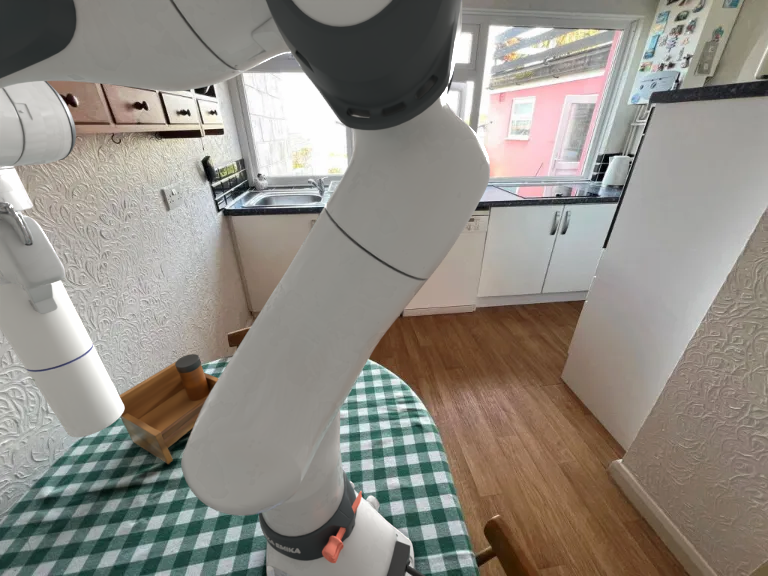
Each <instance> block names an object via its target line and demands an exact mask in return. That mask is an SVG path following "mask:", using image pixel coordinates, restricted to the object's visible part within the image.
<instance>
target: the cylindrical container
mask: <svg viewBox="0 0 768 576" xmlns="http://www.w3.org/2000/svg"><path fill="white" fill-rule="evenodd" d="M51 285H52V292H53V298H54V300H55V302H56V304H57V306H58V308H57V309H56V310H54V311H51V312H49V313H46V314H41V313H38V312H36V311H35V310H34V309H33V307H32V306H31V304H30V302H29V300H30V298H29V296H28V294H27V292H26V291H25V290H24V289H23V288H22V286H20V285H17V284H15V283H12V282H9V281H7V280H4V279H1V278H0V331H1V333H2V334H3V336H4V337H5V339H6V340H7V342H8V344H9V345H10V347H11V348H12V350H13V351H14V353H15V355H16V357H18V359H19V360H20V362H21V364H22V366H23V367H24V368H25V370H26V372H27V373H28V375H29V376H30V378H31V379H32V380H33V382H34V384H35V386H36V387H37V389H38V390H39V392H40V393H41V395H42V396H43V399H45V401H46V402H47V404H48V406H49V407H50V409H51V411H52V412H53V413H54V415H55V417H56V419H57V420H58V421H59V423H60V424H61V426H62V427H63V429H64V431H65V432H66V434H67V435H68V436H69V437H71V438H83V437H88V436H91V435H94V434H97V433H99V432H101V431H103V430H105V429H106V428H108V427H110V426H111V425H112V424H114V423H115V422H116V421H117V420H118V419H119V418H121V417H120V416H121V415H122V413H123V412H124V404H123V402H122V400H121V399H120V397H119V395H120V394H119V393H118V391H117V388H116V386H115V384H114V382H113V381H112V379H111V376H110V375H109V373H108V371H107V369H106V367H105V364H104V362H103V361H102V359H101V357H100V355H99V353H98V351H97V350H96V347H95V345H94V344H93V341H92V339H91V337H90V336H89V334H88V331H87V330H86V327H85V325H84V323H83V321H82V320H81V317H80V315H79V314H78V312H77V309H76V308H75V306H74V304H73V302H72V299H71V298H70V296H69V294H68V292H67V290H66V288H65V286H64V284H63V281H62V280H61V281H57V282H54V283H51Z"/></svg>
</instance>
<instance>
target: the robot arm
mask: <svg viewBox="0 0 768 576" xmlns="http://www.w3.org/2000/svg"><path fill="white" fill-rule="evenodd" d="M462 25H463V0H0V278H1V279H4V280H7V281H9V282H12V283H15V284H17V285H20V286H22V288H23V289H24V290H25V291H26V292H27V294H28V296H29V298H30V300H29V302H30V304H31V306H32V307H33V309H34V310H35V311H36V312H38V313H41V314H46V313H49V312H51V311H54V310H56V309H57V308H58V306H57V304H56V302H55V300H54V298H53V292H52V285H51V283H54V282H57V281H61V282H62V281H63V280H65V279H66V276H67V275H66V269H65V266H64V264H63V262H62V261H61V258H60V257H59V255H58V253H57V251H56V250H55V248H54V246H53V244H52V243H51V241H50V239H49V237H48V236H47V234H46V233H45V231H44V229H43V228H42V227H41V225H40V224H39V223H38V221H36V219H34V218H32V217H31V216H29V215H25V214H23V212H22V211H26V210H30V209H32V208H33V207H34V204H33V202H32V200H31V198H30V197H29V194H28V191H27V190H26V188H25V186H24V184H23V182H22V180H21V178H20V176H19V174H18V171H17V170H16V167H24V166H38V165H39V166H40V165H46V164H51V163H54V162H59V161H63V160H65V159H66V158H68V157H69V155H70V154H71V153H72V151H73V150H74V147H75V145H76V141H77V130H76V123H75V121H74V117H73V115H72V112H71V111H70V109H69V106H68V105H67V103H66V101H65V100H64V99H63V97H62V95H61V94H60V93H59V92H58V91H57V90H56V89H55V88H54V87H53V86H52V85H51V83H50V82H76V83H77V82H78V83H92V84H100V85H101V84H102V85H109V86H117V87H118V86H120V87H127V88H134V89H135V88H137V89H145V90H151V91H152V90H153V91H161V92H184V91H190V90H191V91H192V90H195V89H201V88H205V87H210V86H213V85H218V84H220V83H224V82H226V81H229V80H231V79H233V78H235V77H237V76H239V75H242V74H243V73H246V72H247V71H250V70H251V69H253V68H255V67H257V66H259V65H261V64H263V63H265V62H267V61H269V60H271V59H272V58H275V57H277V56H280V55H281V56H282V55H283V54H290V53H291V55H292V56H293V58H294V59H295V61H296V63H297V65H298V66H299V68H300V69H301V70H302V71H303V72H304V74H305V75H306V77H307V78H308V79H309V81H310V82H311V83H312V84H313V85H314V87H315V88H316V89H317V91H318V92H319V94H320V95H321V97H322V98H323V100H325V103H327V105H328V106H329V108H330V110H332V112H333V113H334V115H335V116H336V118H337V119H338V120H339V122H340V123H341V124H343V125H344V126H345V127H347V128H349V129H352V130H353V131H352V132H353V141H354V143H353V150H352V154H351V157H350V160H349V163H348V165H347V167H346V169H345V171H344V173H343V175H342V176H341V179H340V180H339V182H338V183H337V185H336V186H335V189H334V190H333V192H332V193H331V195H330V197H329V198H328V200H327V202H326V204H325V205H324V207H323V208H322V209H321V212H320V213H319V215H318V217H317V219H316V220H315V221H314V223H313V224H312V227H311V229H310V230H309V231H308V234H307V235H306V237H305V238H304V240H303V242H302V243H301V246H300V247H299V248H298V251H297V252H296V254H295V256H294V257H293V259H292V261H291V263H290V264H289V266H288V267H287V269H286V270H285V272H284V274H283V275H282V277H281V278H280V280H279V282H278V283H277V285H276V286H275V288H274V290H273V292H272V293H271V294H270V296H269V298H268V299H267V301H266V302H265V304H264V306H263V307H262V308H261V311H260V312H259V313H258V315H257V316H256V318H255V320H254V322H253V323H252V325H251V326H250V327H249V329H248V331H247V332H246V334H245V336H244V337H243V339H242V341H241V342H240V344H239V345H238V347H237V349H236V350H235V352H234V353H233V354H232V357H231V358H230V359H229V361H228V363H227V364H226V366H225V367H224V369H223V371H222V372H221V374H220V375H219V377H218V378H219V379H218V381H217V382H216V384H215V385H214V387H213V389H212V390H211V392H210V394H209V395H208V397H207V399H206V400H205V402H204V405H203V407H202V409H201V411H200V413H199V415H198V417H197V420H196V422H195V424H194V427H193V428H192V429H191V431H190V434H189V437H188V439H187V442H186V444H185V447H184V450H183V453H182V456H181V461H180V466H181V471H182V475H183V477H184V480H185V483H186V484H187V486H188V488H189V489H190V491H191V492H192V494H193V495H194V496H195V497H196V498H197V499H198V500H199V501H200V502H201V503H202V504H204V505H205V506H207V507H208V508H210V509H212V510H214V511H216V512H219V513H222V514H225V515H231V516H253V515H258V522H259V525H260V530H261V531H262V534H263V535H264V537H265V540H266V552H265V553H266V555H265V557H266V559H265V560H266V561H265V562H266V563H265V567H266V576H426V575H425V574H423V573H422V572H421V571H419V570H417V569H415V552H414V547H413V543H412V541H411V540H410V538H408V536H406V535H405V534H404V533H402V532H401V531H400V530H398V529H397V528H396V527H395V526H394V525H392V524H391V523H390V522H389V521H388V520H387V519H386V518H385V517H384V516H382V514H381V513H379V511H378V510H379V509H380V502H379V500H378V499H377V497H375V496H373V495H371V494H370V495H368V496H367V498H366V499H365V498H364V497H363V495H362V494H363V491H362V490H360V491H359V492H357V491H356V490H355V488H356V485H355V484H354V483H353V482H352V481H351V480H349V477H348V475H347V473H346V471H345V470H344V468H343V460H342V451H341V450H342V449H341V409H342V407H343V405H344V403H345V402H346V400H347V398H349V395H350V393H351V392H352V390H353V388H354V386H355V384H356V382H357V381H358V379H359V377H360V375H361V374H362V372H363V370H364V367H366V364H367V363H368V361H369V359H370V357H371V356H372V354H373V352H374V350H375V349H376V347H377V345H379V343H380V341H381V339H383V337H384V336H385V334H386V333H387V331H388V330H389V329H390V328H391V326H392V325H393V324H394V323H395V321H396V320H397V319H398V318H399V316H400V315H401V314H402V313H403V312H404V310H405V309H406V307H408V305H409V304H410V303H411V302H412V300H413V299H414V298H415V297H416V295H417V294H418V293H419V292H420V290H421V289H422V287H424V285H425V284H426V282H428V280H429V279H430V278H431V277H432V275H433V274H434V273H435V272H436V270H437V269H438V268H439V267H440V265H441V263H442V262H443V261H444V260H445V258H446V257H447V256H448V254H449V252H451V250H452V249H453V247H454V245H455V244H456V242H457V241H458V239H459V238H460V236H461V234H462V233H463V232H464V230H465V229H466V226H467V224H468V223H469V221H470V220H471V219H472V216H473V214H474V213H475V211H476V209H477V207H478V205H479V203H480V201H481V199H483V196H484V194H485V192H486V190H487V187H488V185H489V182H490V176H491V175H490V174H491V163H490V159H489V155H488V153H487V151H486V148H485V146H484V144H483V142H482V140H481V139H480V137H479V136H478V135H477V133H476V132H475V130H474V129H473V128H472V127H471V126H470V125H469V124H468V123H466V122H465V121H464V120H463V119H462V118H461V117H460V116H458V115H457V113H456V112H455V111H454V110H453V108H452V107H451V105H450V104H449V101H448V95H449V92H450V89H451V86H452V83H453V79H454V72H455V65H456V61H457V57H458V53H459V48H460V44H461V38H462V29H463V28H462V27H463V26H462Z"/></svg>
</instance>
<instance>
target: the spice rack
mask: <svg viewBox="0 0 768 576" xmlns="http://www.w3.org/2000/svg"><path fill="white" fill-rule="evenodd" d="M218 379H219V377H216V376H214V375H211V374H209V373H206V372H204V369H203V366H202V361H201V358H200V356H199V354H195V353H191V354H185V355H184V356H181V357H180V358H178V359H177V360H176V361H174V362H172V363H171V364H170V365H167V366H166V367H164V368H162V369H161V370H159V371H157V372H156V373H154V374H152V375H151V376H149V377H147V378H146V379H144V380H142V381H140V382H139V383H137V384H136V385H134V386H133V387H131V388H129V389H127V390H126V391H124V392H123V393H121V394H118V395H119V397H120V399H121V400H122V402H123V404H124V412H123V413H122V415H121V416H120V417H119V418H120V419H121V421H122V423H123V425H124V427H125V429H126V431H127V433H128V435H129V437H130V439H131V441H132V443H134V444H136V445H137V446H139V447H140V448H142V449H143V450H145V451H147V452H148V453H150V454H151V455H152V456H154V457H156V458H157V459H159V460H161V461H163V462H164V463H166V464H167V465H170V464H171V462H173V461H174V459H173V457H172V454H171V452H170V450H169V448H170V447H171V446H172V445H174V444H175V443H176V442H177V441H179V440H180V439H181V438H182V437H183V436H185V435H186V434H188V432H190V431H192V429H193V427H194V424H195V422H196V420H197V417H198V415H199V413H200V411H201V409H202V407H203V405H204V402H205V400H206V399H207V397H208V395H209V394H210V392H211V390H212V389H213V387H214V385H215V384H216V382H217V381H218Z"/></svg>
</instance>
